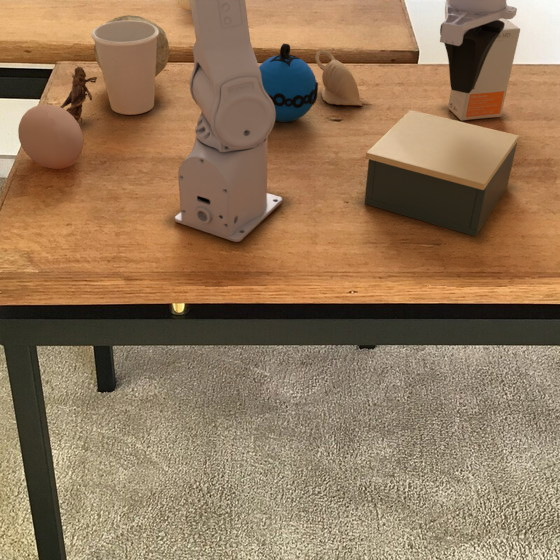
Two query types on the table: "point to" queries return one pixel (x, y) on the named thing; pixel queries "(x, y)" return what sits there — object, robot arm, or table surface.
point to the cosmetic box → (489, 79)
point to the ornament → (289, 85)
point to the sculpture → (161, 48)
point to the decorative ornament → (338, 82)
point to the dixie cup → (128, 64)
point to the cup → (183, 4)
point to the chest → (435, 196)
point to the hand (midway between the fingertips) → (461, 89)
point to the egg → (50, 136)
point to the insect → (78, 93)
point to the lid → (444, 148)
